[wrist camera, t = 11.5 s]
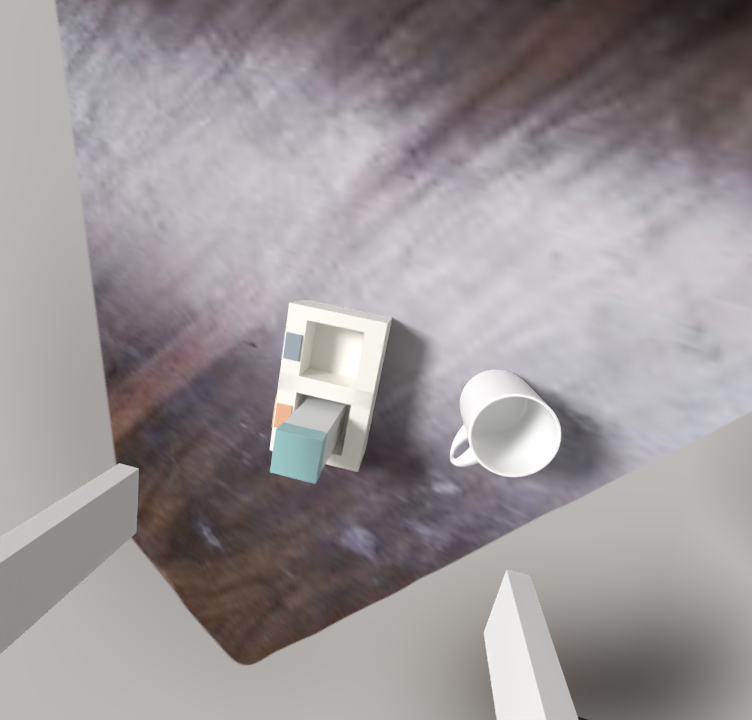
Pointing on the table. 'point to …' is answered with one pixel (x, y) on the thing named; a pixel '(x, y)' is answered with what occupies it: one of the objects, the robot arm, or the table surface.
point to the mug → (505, 426)
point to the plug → (308, 439)
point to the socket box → (333, 369)
